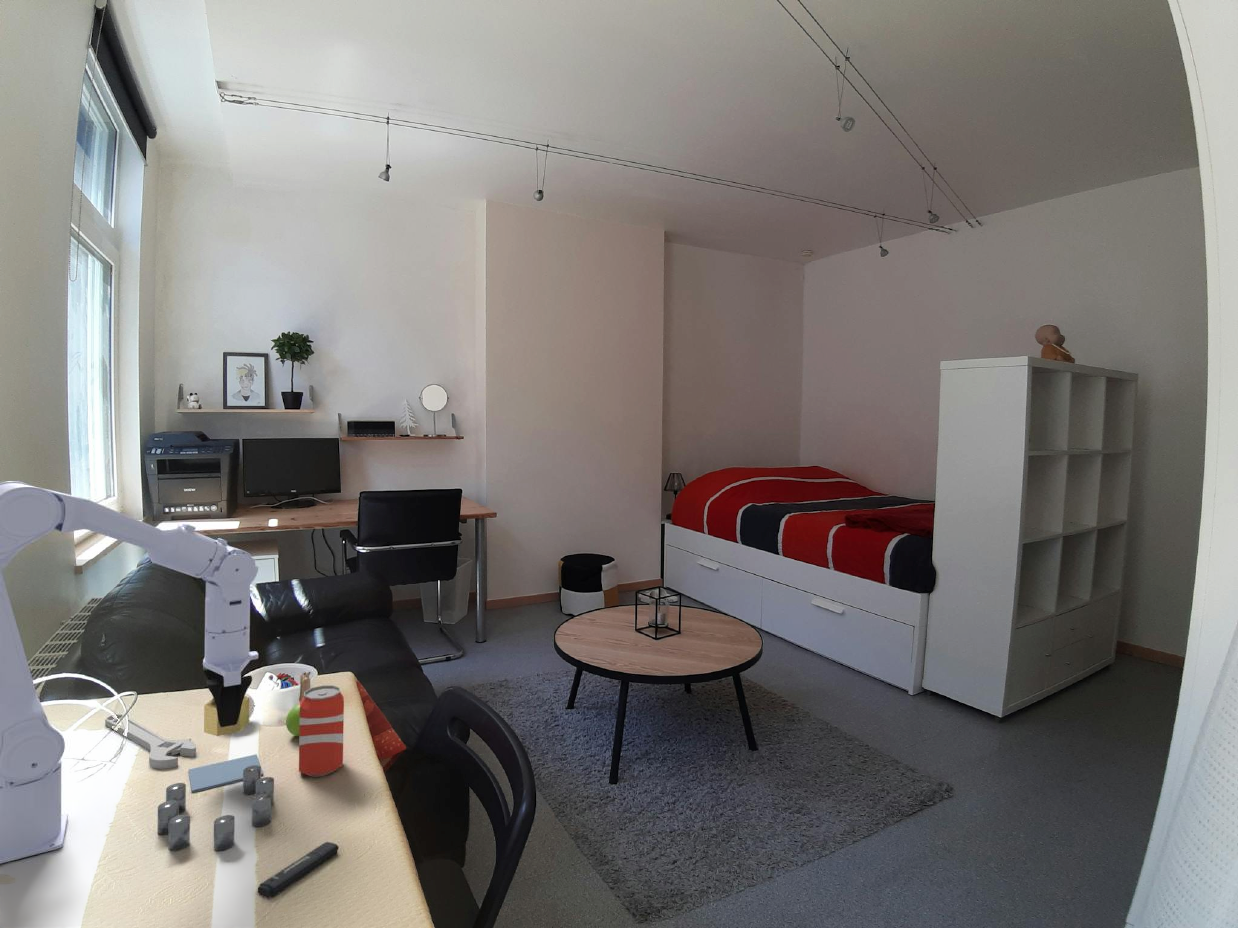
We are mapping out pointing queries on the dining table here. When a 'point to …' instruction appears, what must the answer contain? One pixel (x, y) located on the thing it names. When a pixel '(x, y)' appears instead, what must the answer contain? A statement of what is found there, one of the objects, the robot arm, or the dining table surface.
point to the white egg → (250, 704)
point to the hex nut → (213, 723)
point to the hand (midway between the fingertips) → (226, 717)
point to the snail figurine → (298, 706)
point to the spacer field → (223, 825)
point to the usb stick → (297, 870)
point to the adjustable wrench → (155, 743)
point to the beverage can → (321, 730)
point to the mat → (220, 773)
